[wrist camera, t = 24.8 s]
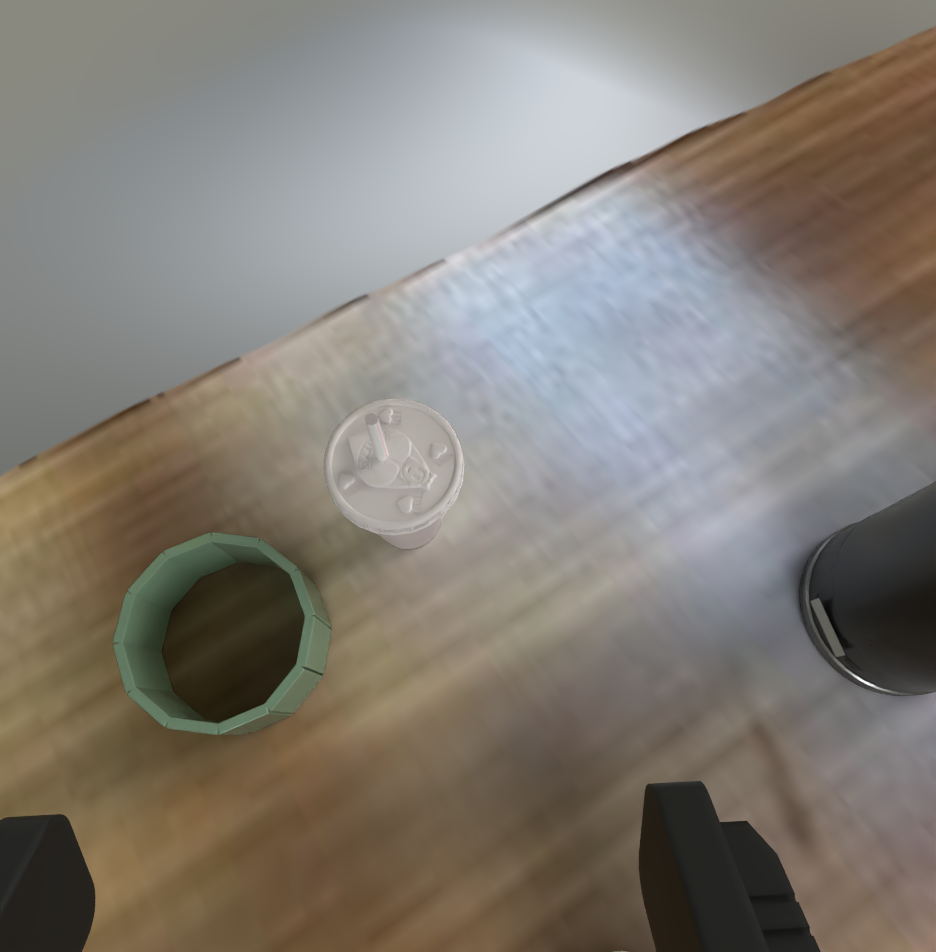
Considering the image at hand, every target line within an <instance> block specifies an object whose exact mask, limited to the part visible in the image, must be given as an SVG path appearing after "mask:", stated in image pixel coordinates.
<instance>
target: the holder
mask: <svg viewBox="0 0 936 952" xmlns="http://www.w3.org/2000/svg"><path fill="white" fill-rule="evenodd" d="M238 562H241V563H249V564H257V565H265V566H273V567H279V568H280V569H281V570H283V571H284V572H285V573H286V574H288V575H289V576H290V577H291V579H292V582H293V585H294V588H295V590H296V593H297V596H298V599H299V602H300V605H301V607H302V610H303V613H304V616H305V619H304V624H303V630H302V635H301V640H300V645H299V651H298V656H297V661H296V665H295V666H294V667H293V669H292V670H291V671H290V672H289V674H288V675H287V676H286V677H285V678H284V680H283V681H282V682H281V683H280V685H279V686H278V687H277V688H276V690H275V691H274V692H273V693H272V695H271V696H270V697H269V698H268V700H267V701H266V702H265V703H264V704H262V705H260V706H258V707H255V708H253V709H251V710H248V711H246V712H244V713H241V714H239V715H237V716H234V717H232V718H229V719H227V720H225V721H218V720H210V719H204V718H203V717H202V716H201V715H199V714H198V713H197V712H196V711H195V710H194V709H192V708H191V707H190V706H189V705H188V704H187V703H185V702H184V701H183V700H182V699H181V698H180V697H178V696H177V695H176V694H175V693H174V692H173V690H172V686H171V683H170V679H169V676H168V673H167V669H166V666H165V662H164V659H163V656H162V648H163V644H164V639H165V635H166V631H167V627H168V623H169V619H170V615H171V611H172V609H173V608H174V607H175V606H176V605H177V604H178V602H179V601H180V600H181V599H182V598H183V597H184V595H185V594H186V593H187V592H188V591H189V590H190V589H191V587H192V586H193V585H194V584H195V583H196V582H197V581H198V579H199V578H201V577H203V576H206V575H208V574H211V573H213V572H216V571H218V570H221V569H223V568H226V567H228V566H231V565H233V564H236V563H238ZM127 591H128V592H129V593H126V594H125V597H124V601H123V604H122V608H121V612H120V616H119V620H118V623H117V627H116V631H115V635H114V639H113V642H114V643H116V644H114V645H113V648H114V652H115V656H116V659H117V663H118V666H119V670H120V674H121V677H122V681H123V685H124V688H125V692H128V694H127V695H128V696H129V697H130V698H131V699H132V700H133V701H135V702H136V703H137V704H138V705H139V706H140V707H141V708H143V709H144V710H145V711H146V712H147V713H148V714H149V715H151V716H152V717H153V718H154V719H155V720H156V721H157V722H159V723H160V724H161V725H162V726H164V727H167V728H168V729H176V730H184V731H191V732H199V733H206V734H214V735H231V734H249V733H252V732H254V731H256V730H259V729H261V728H263V727H266V726H268V725H270V724H273V723H275V722H277V721H280V720H282V719H284V718H287V717H289V716H291V713H295V711H296V710H297V709H298V708H299V706H300V705H301V704H302V703H303V701H304V700H305V699H306V697H307V696H308V695H309V694H310V692H311V691H312V690H313V689H314V687H315V686H316V685H317V684H318V682H319V681H320V680H321V678H322V677H323V676H322V675H321V674H324V672H325V666H326V661H327V655H328V649H329V644H330V638H331V632H332V629H330V628H331V627H332V626H331V623H330V620H329V618H328V615H327V612H326V609H325V607H324V604H323V601H322V598H321V596H320V593H319V590H318V588H317V587H316V586H315V584H314V583H313V582H312V581H311V580H310V579H309V578H308V577H307V576H306V575H305V574H304V573H303V572H302V571H301V570H300V569H299V568H298V567H297V566H295V565H294V564H293V563H292V562H290V561H289V560H288V559H286V558H285V557H284V556H283V555H281V554H280V553H279V552H278V551H276V550H275V549H274V548H272V547H271V546H270V545H269V544H267V543H266V542H265V541H264V540H262V539H261V540H260V539H259V538H256V537H248V536H240V535H232V534H224V533H216V532H212V534H211V533H207V534H204V535H202V536H199V537H197V538H194V539H192V540H189V541H187V542H184V543H181V544H179V545H176V546H174V547H171V548H169V549H166V550H164V554H163V553H160V554H159V555H158V556H157V557H156V559H155V560H154V561H153V562H152V563H151V564H150V565H149V566H148V567H147V569H146V570H145V571H144V572H143V573H142V574H141V575H140V576H139V578H138V579H137V580H136V581H135V582H134V583H133V584H132V585H131V586H130V588H129V589H128V590H127Z"/></svg>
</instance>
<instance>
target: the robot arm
mask: <svg viewBox="0 0 936 952" xmlns="http://www.w3.org/2000/svg"><path fill="white" fill-rule="evenodd" d="M800 607H801V612H802V617H803V620H804V624H805V626H806V629H807V632H808V634H809V636H810V638H811V640H812V642H813V643H814V645H815V647H816V648H817V650H818V651H819V652H820V654H821V655H822V656H823V657H824V659H825V660H826V661H827V662H828V663H829V664H830V665H831V666H832V667H833V668H834V669H835V670H836V671H838V672H839V673H840V674H841V675H842V676H844V677H845V678H847V679H848V680H850V681H852V682H853V683H855V684H857V685H859V686H861V687H863V688H865V689H868V690H871V691H874V692H877V693H881V694H886V695H893V696H910V695H922V694H928V693H932V692H935V691H936V482H934V483H932V484H930V485H929V486H927V487H925V488H923V489H921V490H919V491H917V492H915V493H913V494H912V495H910V496H908V497H906V498H904V499H902V500H900V501H898V502H896V503H895V504H893V505H891V506H889V507H887V508H885V509H883V510H881V511H879V512H878V513H875V514H873V515H871V516H869V517H867V518H866V519H864V520H862V521H860V522H857V523H854V524H851V525H849V526H847V527H845V528H843V529H841V530H839V531H837V532H835V533H834V534H832V535H830V536H829V537H827V538H826V539H825V540H824V541H823V542H822V543H821V544H820V545H819V546H818V547H817V548H816V549H815V550H814V552H813V553H812V554H811V556H810V558H809V559H808V561H807V564H806V566H805V568H804V571H803V574H802V579H801V584H800ZM639 873H640V883H641V889H642V895H643V900H644V905H645V909H646V913H647V917H648V921H649V925H650V928H651V932H652V936H653V940H654V944H655V948H656V952H820V950H819V947H818V945H817V943H816V941H815V938H814V936H811V934H810V930H809V928H810V927H809V925H808V923H807V920H806V918H805V916H804V914H803V911H802V909H801V907H800V905H799V902H796V900H795V893H794V891H793V889H792V887H791V884H790V882H789V880H788V878H787V875H786V873H785V871H784V869H783V866H782V864H781V862H780V860H779V858H778V855H777V854H776V852H775V851H774V850H773V849H772V848H771V847H770V846H769V845H768V844H767V843H766V842H765V840H764V839H763V838H762V837H761V836H760V835H759V834H758V833H757V832H756V831H755V830H754V828H753V827H752V826H751V825H750V824H749V823H748V822H747V821H735V822H719V819H718V816H717V814H716V811H715V809H714V806H713V804H712V801H711V798H710V796H709V793H708V791H707V789H706V787H705V785H704V784H703V783H702V782H701V781H691V782H673V783H655V784H647V786H646V789H645V796H644V807H643V817H642V827H641V838H640V848H639ZM94 911H95V888H94V884H93V881H92V878H91V875H90V873H89V870H88V868H87V865H86V863H85V860H84V857H83V855H82V852H81V850H80V847H79V845H78V842H77V839H76V837H75V834H74V832H73V829H72V826H71V824H70V822H69V820H68V818H67V817H66V816H64V815H61V814H57V815H39V816H21V817H7V818H4V819H2V820H0V952H82V950H83V948H84V945H85V943H86V940H87V938H88V935H89V933H90V929H91V926H92V922H93V918H94Z"/></svg>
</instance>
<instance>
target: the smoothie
mask: <svg viewBox="0 0 936 952" xmlns="http://www.w3.org/2000/svg"><path fill="white" fill-rule="evenodd" d="M324 474H325V480H326V483H327V487H328V489H329V492H330V494H331V497H332V499H333V502H334V504H335V505H336V506H337V507H338V509H339V510H340V511H341V512H342V514H343V515H344V516H345V517H346V518H347V519H349V520H350V521H351V522H353V523H354V524H356V525H357V526H358V527H360V528H363V529H365V530H368V531H371V532H373V533H376V534H378V535H379V536H381V537H382V538H383V539H384V540H386V541H387V542H388V543H389V544H391V545H393V546H395V547H398V548H401V549H415V548H418V547H421V546H423V545H425V544H427V543H428V542H429V541H431V540H432V539H433V537H434V536H435V535H436V533H437V531H438V529H439V527H440V524H441V521H442V519H443V516H444V515H445V514H446V512H447V511H448V510H449V508H450V507H451V506H452V504H453V503H454V502H455V500H456V498H457V496H458V494H459V491H460V489H461V486H462V484H463V475H464V460H463V454H462V449H461V446H460V443H459V440H458V437H457V435H456V433H455V432H454V430H453V428H452V427H451V425H450V424H449V423H448V422H447V421H446V420H445V418H444V417H443V416H441V415H440V414H439V413H438V412H436V411H435V410H433V409H432V408H430V407H428V406H426V405H424V404H422V403H419V402H416V401H412V400H407V399H396V398H395V399H383V400H378V401H375V402H371V403H369V404H366V405H364V406H362V407H360V408H358V409H357V410H355V411H354V412H352V413H351V414H350V415H348V416H347V417H346V418H345V419H344V420H343V421H342V422H341V423H340V424H339V425H338V427H337V428H336V430H335V431H334V433H333V434H332V436H331V438H330V440H329V442H328V445H327V448H326V452H325V458H324Z"/></svg>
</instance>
